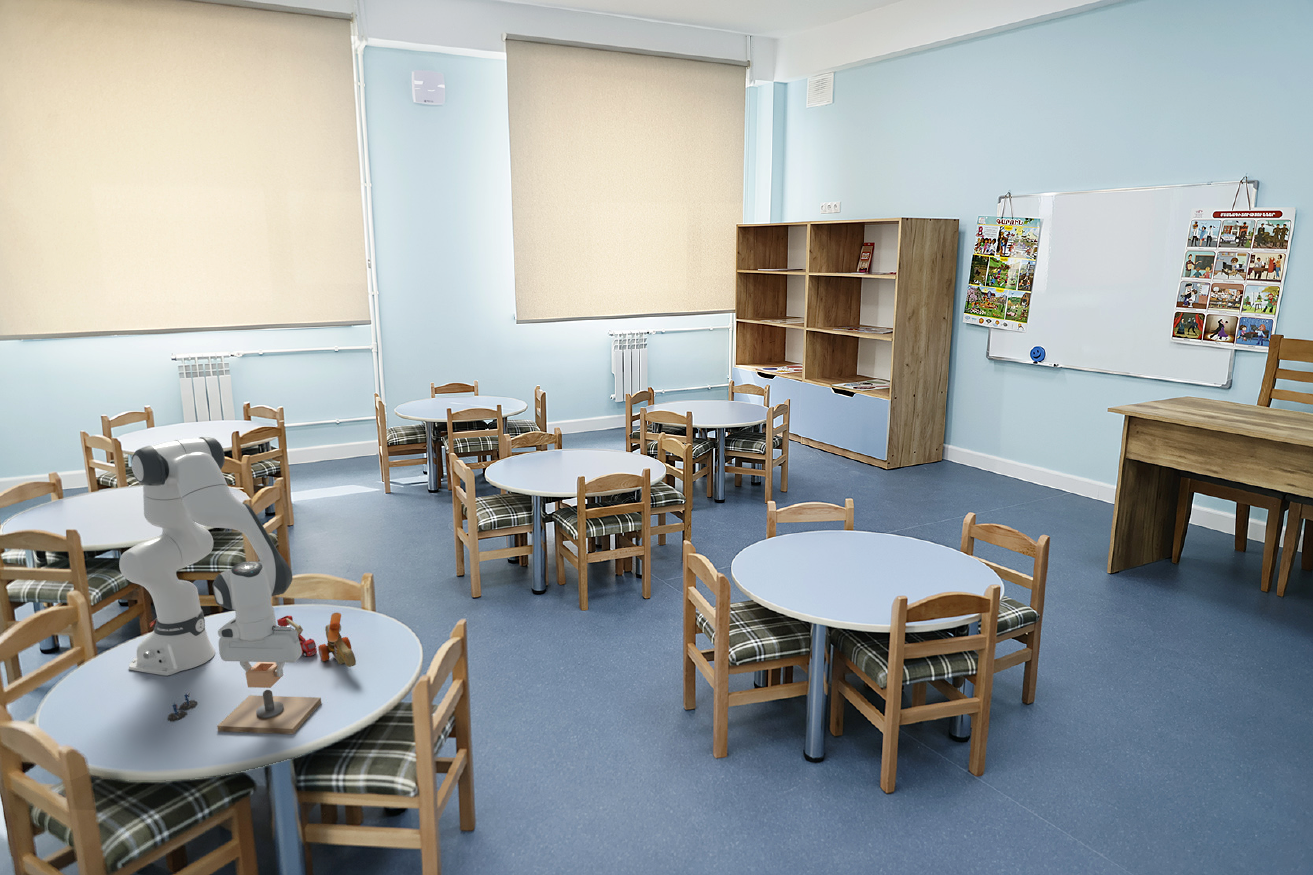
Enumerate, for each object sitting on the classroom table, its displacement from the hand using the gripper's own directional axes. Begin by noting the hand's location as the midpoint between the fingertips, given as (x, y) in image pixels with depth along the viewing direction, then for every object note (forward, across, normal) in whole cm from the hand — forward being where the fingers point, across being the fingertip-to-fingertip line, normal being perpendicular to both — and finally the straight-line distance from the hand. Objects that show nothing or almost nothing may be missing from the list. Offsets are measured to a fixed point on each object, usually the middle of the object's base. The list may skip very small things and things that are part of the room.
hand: (265, 675), depth 208 cm
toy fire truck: (+12, +11, -34) cm, 38 cm away
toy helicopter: (+12, -6, -27) cm, 30 cm away
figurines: (+12, +25, -1) cm, 28 cm away
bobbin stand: (+12, 0, 0) cm, 12 cm away
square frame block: (+2, 0, 0) cm, 2 cm away
